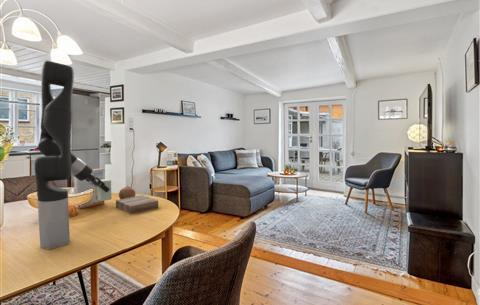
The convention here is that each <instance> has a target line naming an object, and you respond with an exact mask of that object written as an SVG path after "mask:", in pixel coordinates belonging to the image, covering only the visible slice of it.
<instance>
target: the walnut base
mask: <svg viewBox="0 0 480 305" xmlns="http://www.w3.org/2000/svg"><path fill="white" fill-rule="evenodd" d="M115 208H117V209H119V210H121V211H124V212H126V213H127V214H130V215H131V213H132V214H136V213H140V212H144V211H148V210H153V209H157V208H159V200H158V199H155V198H153V197H152V198H151V197H149V196H147V195H143V194H142V195H137V196H136V195H135V197H131V198H125V199H120V198H119V199H116V200H115Z"/></svg>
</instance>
